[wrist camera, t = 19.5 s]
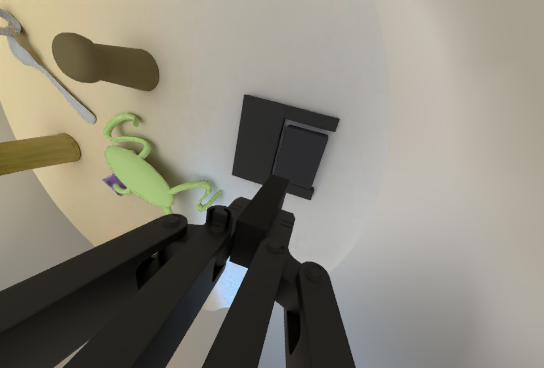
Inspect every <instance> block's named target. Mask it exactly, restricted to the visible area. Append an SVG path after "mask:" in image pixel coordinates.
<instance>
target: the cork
mask: <svg viewBox="0 0 544 368" xmlns="http://www.w3.org/2000/svg"><path fill="white" fill-rule="evenodd" d="M52 52H53V56H54V59H55V61H56V63H57V65H58V67H59V68H60V69H61V70H62V72H63V73H65V74H66V75H67V76H69V77H70V78H72V79H74V80H76V81H79V82H84V83H95V82H98V81H100V80H102V81H106V82H110V83H114V84H119V85H123V86H127V87H131V88H135V89H139V90H143V91H150V90H153V89H154V88H155V87H156V86H157V83H158V80H159V71H158V67H157V64H156V62H155V60H154V59H153V57H152V56H151V55H150V54H149V53H148V52H147V51H144V50H142V49H134V48H126V47H118V46H110V45H102V44H94V43H93V42H92V41H91V40H89V39H87V38H85V37H83V36H81V35H79V34H75V33H61V34H58V35H57V36H55V38H54V39H53V43H52Z"/></svg>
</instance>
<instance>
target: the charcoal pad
mask: <svg viewBox="0 0 544 368" xmlns="http://www.w3.org/2000/svg"><path fill="white" fill-rule="evenodd" d="M327 141H328V135H326V134H322V133H319V132H315V131H311V130H308V129H304V128H301V127H297V126H293V125H288V126H286V129H285V133H284V137H283V140H282V144H281V148H280V152H279V156H278V160H277V164H276V168H275V172H274V175H276V176H279V177H282V178H286V179H289V180H290V181H289V183H291V184H294V185H297V186H300V187H304V188H307V189H311V186H312V184H313V181H314V178H315V175H316V172H317V169H318V167H319V164H320V161H321V158H322V155H323V152H324V150H325V147H326V144H327Z"/></svg>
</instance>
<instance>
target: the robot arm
mask: <svg viewBox="0 0 544 368" xmlns="http://www.w3.org/2000/svg"><path fill="white" fill-rule="evenodd" d="M289 181H290V180H289V179H286V178H282V177H279V176H276V175H273V174H271V175H270V176H269V178H268V179H267V180H266V182H265V183H264V184H263V186H262V187H261V188H260V190H259V191H258V192H257V194H256V195H255V196H254V198H253V199H252V200H249V199H246V198H243V197H240V198H237V199H235V200H234V201H233V202H232V203H231V204H230V205H229V206H228V207H226V206H222V205H215V206H211V207H209V208H208V209H207V216H206V223H205V224H204V225H194V224H188V222H187V218H186V217H184V216H183V215H180V214H168V215H164V216H162V217H160V218H157V219H155V220H153V221H151V222H149V223H147V224H145V225H142V226H140V227H138V228H136V229H134V230H132V231H129V232H127V233H125V234H123V235H121V236H119V237H117V238H114V239H112V240H110V241H108V242H106V243H104V244H101V245H99V246H97V247H95V248H93V249H91V250H89V251H86V252H84V253H82V254H80V255H78V256H76V257H74V258H71V259H69V260H67V261H65V262H63V263H61V264H59V265H56V266H54V267H52V268H50V269H48V270H46V271H43V272H41V273H39V274H37V275H35V276H33V277H31V278H29V279H26V280H24V281H22V282H20V283H18V284H15V285H13V286H11V287H9V288H7V289H5V290H2V291H0V368H54V367H55V366H56V365H58V364H59V363H60V362H61V361H63V360H64V359H65V358H67V357H68V356H69V355H70V354H72V353H73V352H74V351H75V350H77V349H78V348H79V347H81V346H82V345H83V344H85V343H86V342H87V341H88V342H87V344H86V345H84V347H83V348H82V349H81V350H80V351H79V352H78V353H77V354H76V355H75V356H74V357H73V358H72V359H71V360H70V361H69V362H68V363H67V364H66V365H65V366H64V367H63V368H165V367H166V366H167V364H168V362H169V361H170V359H171V357H172V356H173V354H174V352H175V351H176V349H177V347H178V346H179V344H180V343H181V341H182V339H183V338H184V336H185V334H186V332H187V330H188V329H189V328H190V326H191V324H192V323H193V321H194V319H195V318H196V316H197V314H198V312H199V311H200V309H201V308H202V306H203V304H204V303H205V301H206V299H207V298H208V296H209V294H210V293H211V291H212V289H213V288H214V286H215V284H216V283H217V281H218V279H219V278H220V276H221V274H222V273H223V271H224V269H225V266H226V261H227V259H228V258H229V256H230V260H229V261H230V262H233V263H235V264H238V265H240V266H243V267H246V268H248V270H247V272H246V274H245V277H244V279H243V281H242V283H241V285H240V287H239V289H238V291H237V294H236V296H235V298H234V300H233V302H232V304H231V306H230V309H229V311H228V313H227V315H226V317H225V319H224V321H223V323H222V326H221V328H220V330H219V332H218V334H217V337H216V338H215V341H214V343H213V345H212V347H211V349H210V351H209V353H208V356H207V358H206V360H205V362H204V364H203V366H202V368H258V364H259V359H260V356H261V352H262V348H263V344H264V340H265V337H266V333H267V329H268V324H269V321H270V317H271V314H272V310H273V306H274V302H275V301H276V302H277V303H279V304H280V305H281V306H282V307H284V327H285V354H286V368H356V367H355V364H354V361H353V357H352V353H351V350H350V346H349V343H348V339H347V336H346V333H345V329H344V326H343V322H342V319H341V315H340V312H339V308H338V305H337V301H336V298H335V294H334V291H333V287H332V284H331V281H330V277H329V275H328V273H327V271H326V270H325V269H324V268H323V267H322V266H320V265H319V264H317V263H314V262H304V263H302V264H301V263H300V262H298V261H297V260H296V259H294V258H293V257H292V255H291V254H290V252H289V249H288V245H289V241H290V237H291V234H292V230H293V226H294V222H295V217H294V214H293V213H290V212H287V211H284V210H281V209H282V205H283V202H284V198H285V195H286V191H287V188H288V185H289ZM155 253H156V254H155ZM153 254H155V255H153Z"/></svg>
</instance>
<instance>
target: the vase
mask: <svg viewBox="0 0 544 368" xmlns="http://www.w3.org/2000/svg"><path fill="white" fill-rule="evenodd" d="M79 158H80V150H79V147H78V145H77V143H76V142H75V141H74V140H73V139H72V138H71V137H70V136H68V135H66V134H57V135H51V136H44V137H37V138H30V139H23V140H17V141H10V142H3V143H0V176H1V175H5V174H10V173H14V172H19V171H24V170H28V169H34V168H40V167H46V166H51V165H57V164H62V163H68V162H75V161H77V160H78V159H79Z"/></svg>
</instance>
